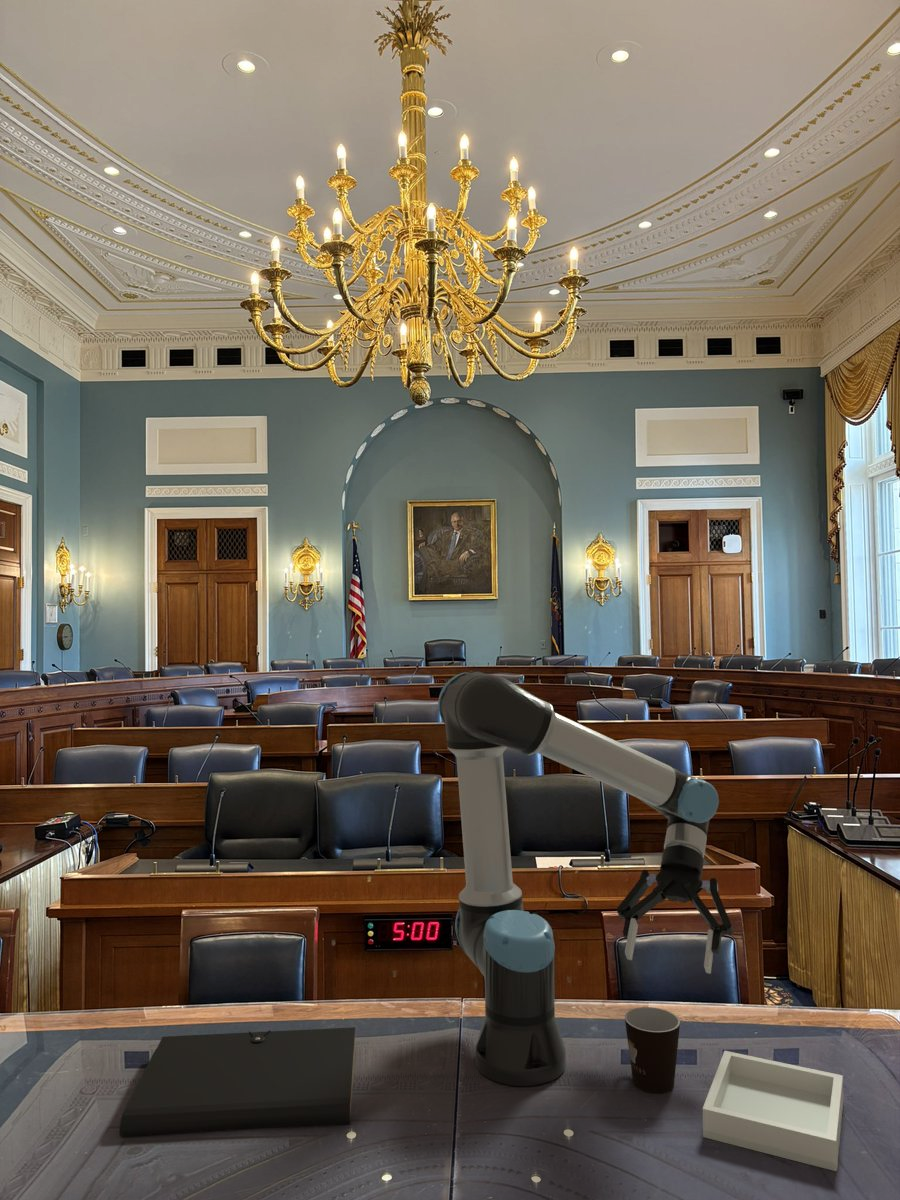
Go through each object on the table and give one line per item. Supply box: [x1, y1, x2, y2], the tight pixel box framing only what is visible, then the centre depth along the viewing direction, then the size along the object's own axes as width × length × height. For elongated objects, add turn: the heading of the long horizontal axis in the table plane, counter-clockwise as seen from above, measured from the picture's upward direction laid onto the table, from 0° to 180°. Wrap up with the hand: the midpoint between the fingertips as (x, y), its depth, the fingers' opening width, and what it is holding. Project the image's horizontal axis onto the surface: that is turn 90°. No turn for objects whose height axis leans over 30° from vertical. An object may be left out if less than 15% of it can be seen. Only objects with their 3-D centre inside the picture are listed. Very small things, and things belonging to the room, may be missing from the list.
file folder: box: [119, 1027, 356, 1138], centre depth 136 cm, size 33×4×24 cm
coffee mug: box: [624, 1006, 681, 1095], centre depth 138 cm, size 12×9×10 cm
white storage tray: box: [702, 1050, 844, 1172], centre depth 126 cm, size 17×18×4 cm
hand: (666, 963), depth 147 cm, fingers open, 13 cm apart
